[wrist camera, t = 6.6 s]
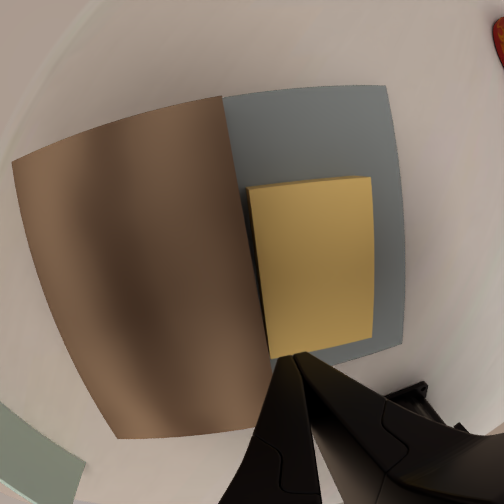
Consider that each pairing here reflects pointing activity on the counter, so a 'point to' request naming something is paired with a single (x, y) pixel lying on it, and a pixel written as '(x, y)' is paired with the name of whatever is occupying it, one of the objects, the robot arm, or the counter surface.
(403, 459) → the robot arm
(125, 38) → the counter surface
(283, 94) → the mat
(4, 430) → the right angle wall
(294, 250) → the yellow flat block
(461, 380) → the counter surface
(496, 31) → the canned food
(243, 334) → the brown flat block
